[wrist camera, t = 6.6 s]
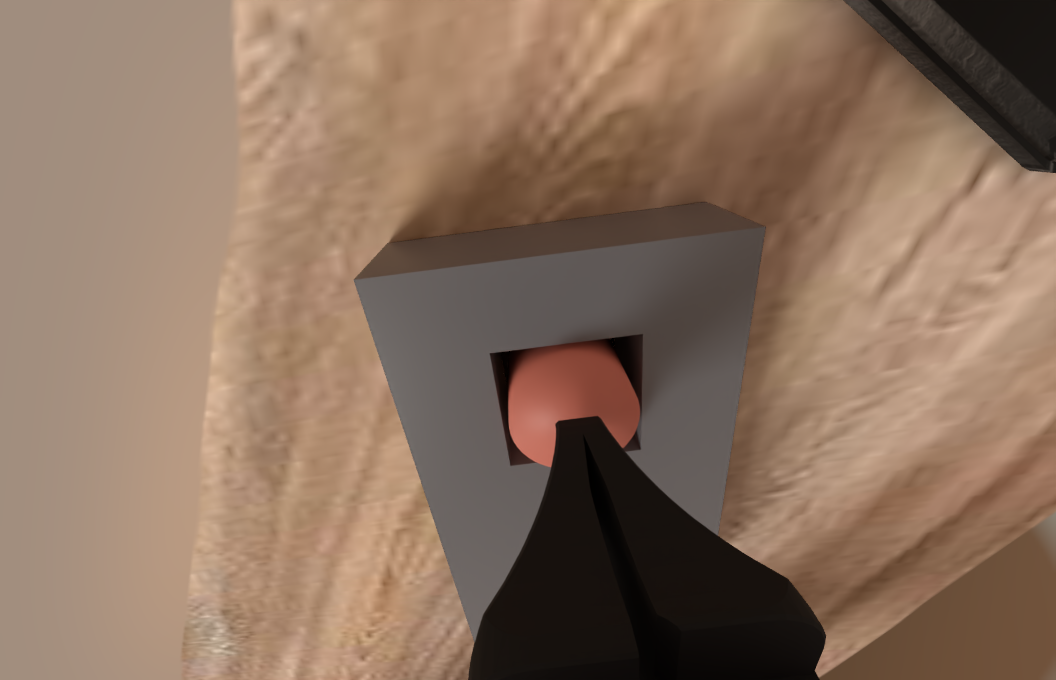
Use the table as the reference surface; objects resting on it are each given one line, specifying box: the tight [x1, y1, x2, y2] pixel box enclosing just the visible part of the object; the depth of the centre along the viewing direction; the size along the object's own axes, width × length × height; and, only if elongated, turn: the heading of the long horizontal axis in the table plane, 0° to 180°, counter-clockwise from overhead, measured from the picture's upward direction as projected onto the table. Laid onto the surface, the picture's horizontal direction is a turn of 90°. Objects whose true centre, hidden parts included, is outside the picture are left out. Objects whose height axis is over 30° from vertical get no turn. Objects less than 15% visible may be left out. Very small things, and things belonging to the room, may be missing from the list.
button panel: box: [354, 202, 766, 642], centre depth 19 cm, size 22×12×4 cm, turn 7°
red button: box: [508, 338, 640, 467], centre depth 15 cm, size 4×4×4 cm
